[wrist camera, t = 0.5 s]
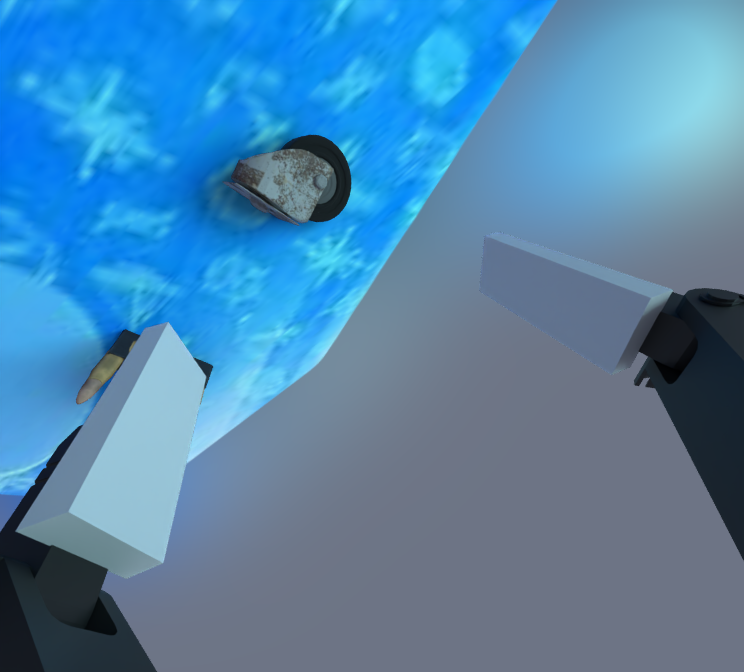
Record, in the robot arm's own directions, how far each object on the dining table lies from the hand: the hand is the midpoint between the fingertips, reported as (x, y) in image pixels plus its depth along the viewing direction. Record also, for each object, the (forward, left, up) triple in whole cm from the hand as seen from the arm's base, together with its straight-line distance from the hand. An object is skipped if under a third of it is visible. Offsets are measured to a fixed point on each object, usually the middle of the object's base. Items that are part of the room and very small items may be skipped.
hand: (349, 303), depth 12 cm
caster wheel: (-4, +2, -27) cm, 28 cm away
